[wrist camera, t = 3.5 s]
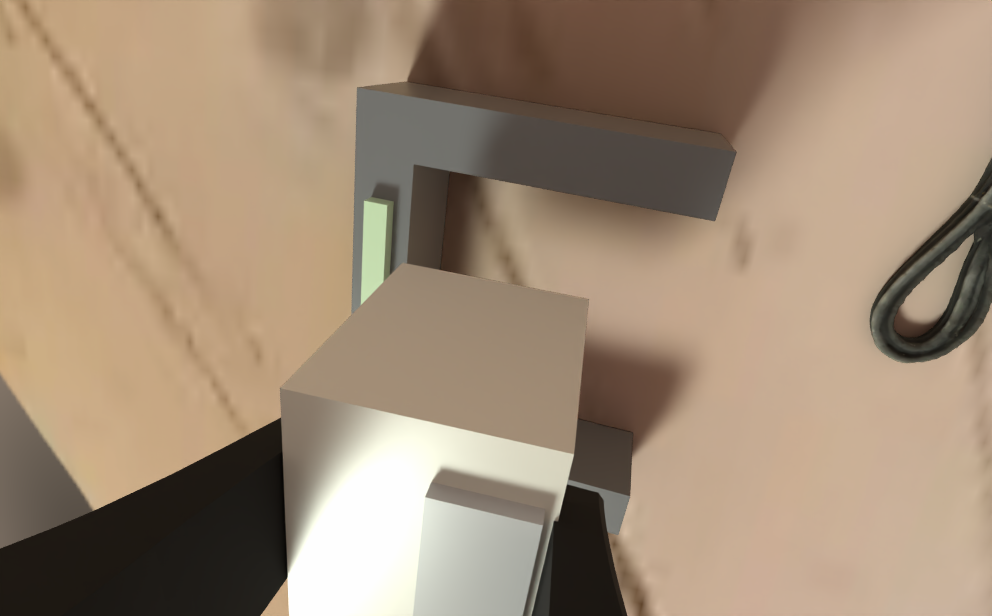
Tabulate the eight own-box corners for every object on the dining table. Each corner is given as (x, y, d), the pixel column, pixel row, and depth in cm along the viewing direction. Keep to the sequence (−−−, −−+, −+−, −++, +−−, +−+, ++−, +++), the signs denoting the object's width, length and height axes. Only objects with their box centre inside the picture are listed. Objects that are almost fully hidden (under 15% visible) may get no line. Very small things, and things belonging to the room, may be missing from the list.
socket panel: (720, 133, 15) (739, 155, 12) (569, 648, 23) (558, 736, 20) (405, 81, 16) (348, 88, 13) (376, 586, 25) (338, 660, 22)
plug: (589, 298, 12) (572, 470, 7) (547, 484, 14) (514, 710, 9) (402, 262, 12) (267, 400, 7) (390, 447, 14) (280, 645, 10)
